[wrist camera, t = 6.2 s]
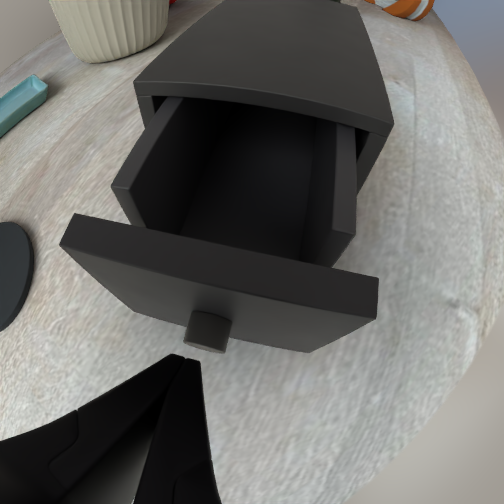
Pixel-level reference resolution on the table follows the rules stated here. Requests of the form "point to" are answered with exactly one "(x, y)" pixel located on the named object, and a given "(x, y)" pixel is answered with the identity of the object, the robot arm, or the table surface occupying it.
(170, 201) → the drawer
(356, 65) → the cabinet
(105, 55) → the canister
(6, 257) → the coaster
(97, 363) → the table surface
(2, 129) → the rectangular tray
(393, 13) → the alarm clock
